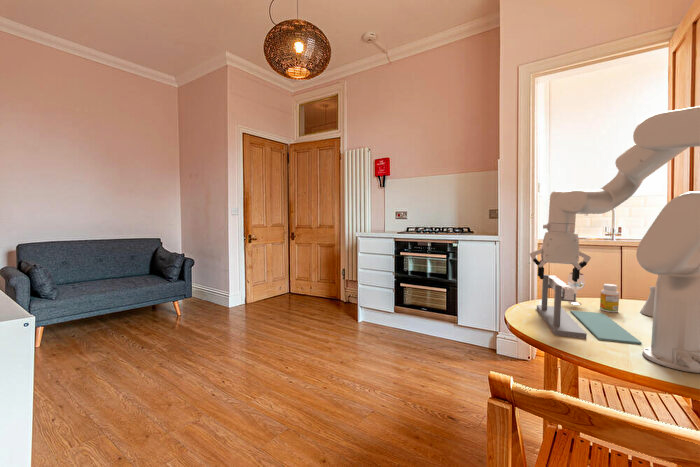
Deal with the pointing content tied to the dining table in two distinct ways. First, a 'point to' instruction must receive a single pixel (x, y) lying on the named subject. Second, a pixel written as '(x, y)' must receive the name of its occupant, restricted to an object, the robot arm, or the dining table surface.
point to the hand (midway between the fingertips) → (557, 279)
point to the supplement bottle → (609, 298)
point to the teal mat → (604, 327)
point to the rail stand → (558, 314)
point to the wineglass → (576, 285)
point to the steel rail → (566, 290)
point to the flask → (649, 303)
